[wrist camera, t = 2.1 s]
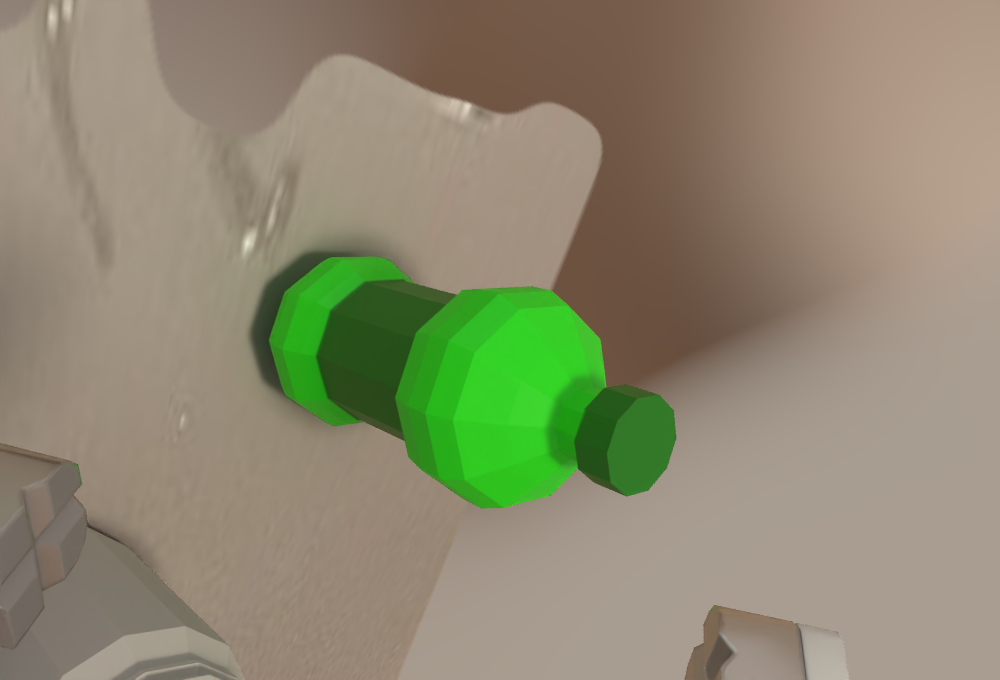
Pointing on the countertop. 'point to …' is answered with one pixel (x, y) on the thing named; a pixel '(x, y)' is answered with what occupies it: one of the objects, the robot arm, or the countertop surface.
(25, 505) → the robot arm
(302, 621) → the countertop surface
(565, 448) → the plastic bottle
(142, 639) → the jar
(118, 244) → the countertop surface
